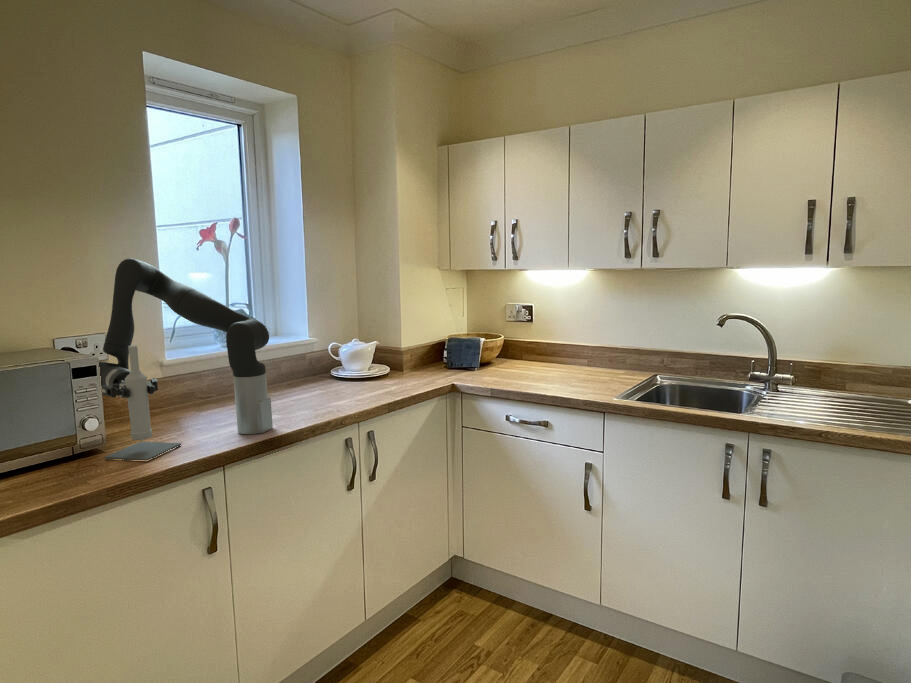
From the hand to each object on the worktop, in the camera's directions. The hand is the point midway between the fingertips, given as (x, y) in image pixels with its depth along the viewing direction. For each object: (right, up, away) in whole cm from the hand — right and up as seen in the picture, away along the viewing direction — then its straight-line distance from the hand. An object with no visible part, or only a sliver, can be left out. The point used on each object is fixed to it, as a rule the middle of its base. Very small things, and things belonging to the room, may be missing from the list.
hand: (140, 391), depth 152 cm
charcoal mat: (-1, -17, +4) cm, 17 cm away
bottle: (-2, -13, +4) cm, 13 cm away
